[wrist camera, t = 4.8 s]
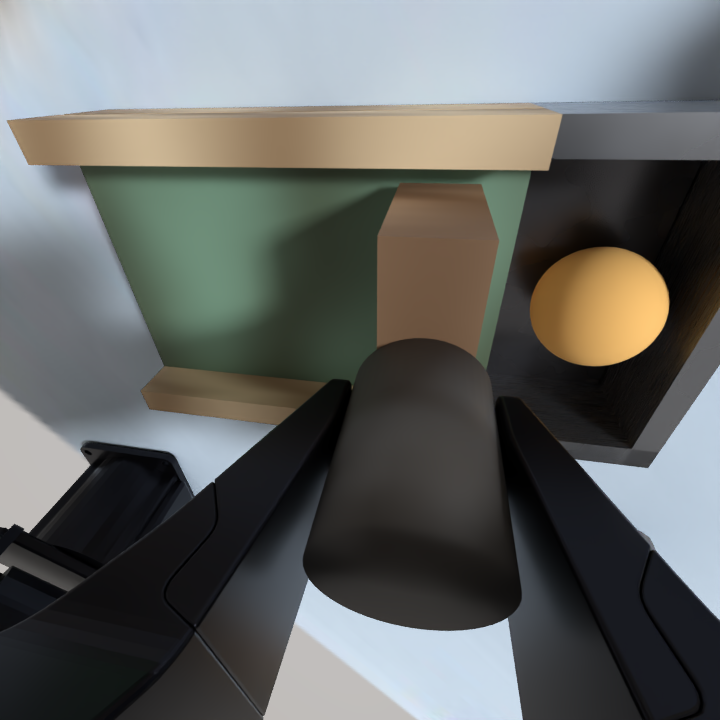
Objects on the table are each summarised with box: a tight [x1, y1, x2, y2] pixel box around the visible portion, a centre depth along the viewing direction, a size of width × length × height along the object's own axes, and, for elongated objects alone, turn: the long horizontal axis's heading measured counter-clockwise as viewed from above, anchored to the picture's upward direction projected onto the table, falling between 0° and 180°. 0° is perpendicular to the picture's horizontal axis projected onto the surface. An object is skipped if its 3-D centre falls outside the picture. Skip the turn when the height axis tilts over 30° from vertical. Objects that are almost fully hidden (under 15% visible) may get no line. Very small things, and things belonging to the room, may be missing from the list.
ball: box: [530, 247, 670, 366], centre depth 11 cm, size 4×4×4 cm
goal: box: [486, 100, 720, 468], centre depth 11 cm, size 6×10×4 cm, turn 1°
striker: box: [302, 183, 522, 631], centre depth 8 cm, size 3×7×8 cm, turn 1°
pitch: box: [7, 103, 563, 425], centre depth 13 cm, size 13×10×4 cm
